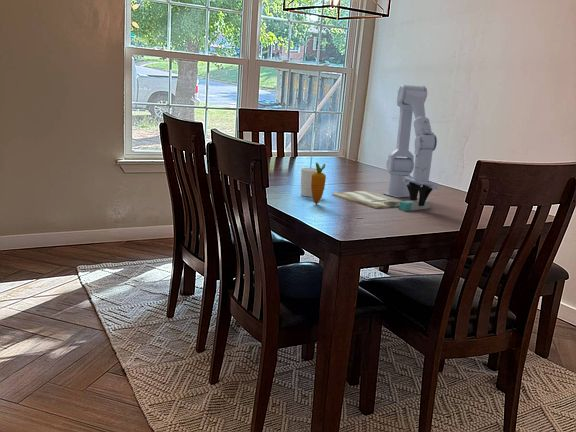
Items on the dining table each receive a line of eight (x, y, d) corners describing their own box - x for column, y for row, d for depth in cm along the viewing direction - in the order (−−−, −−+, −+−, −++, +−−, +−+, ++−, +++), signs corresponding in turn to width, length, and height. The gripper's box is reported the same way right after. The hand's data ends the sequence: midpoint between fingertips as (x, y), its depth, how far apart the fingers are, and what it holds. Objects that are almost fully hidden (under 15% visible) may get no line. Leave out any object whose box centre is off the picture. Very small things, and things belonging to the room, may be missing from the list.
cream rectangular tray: (365, 192, 218) (365, 188, 218) (410, 205, 200) (410, 200, 199) (332, 195, 208) (332, 190, 207) (376, 208, 189) (376, 203, 189)
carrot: (322, 203, 192) (326, 162, 188) (324, 206, 187) (327, 164, 183) (308, 202, 191) (312, 161, 188) (309, 205, 186) (313, 163, 183)
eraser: (424, 206, 199) (425, 199, 199) (431, 208, 197) (432, 200, 196) (398, 209, 191) (399, 201, 190) (405, 211, 189) (406, 203, 188)
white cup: (302, 197, 200) (304, 170, 197) (296, 192, 207) (298, 167, 205) (322, 197, 202) (324, 171, 200) (315, 193, 209) (318, 168, 207)
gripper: (399, 165, 194) (395, 201, 197) (431, 171, 183) (425, 209, 186) (412, 164, 198) (407, 199, 202) (444, 170, 187) (438, 208, 190)
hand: (417, 204), depth 194 cm, fingers closed on eraser, 3 cm apart
